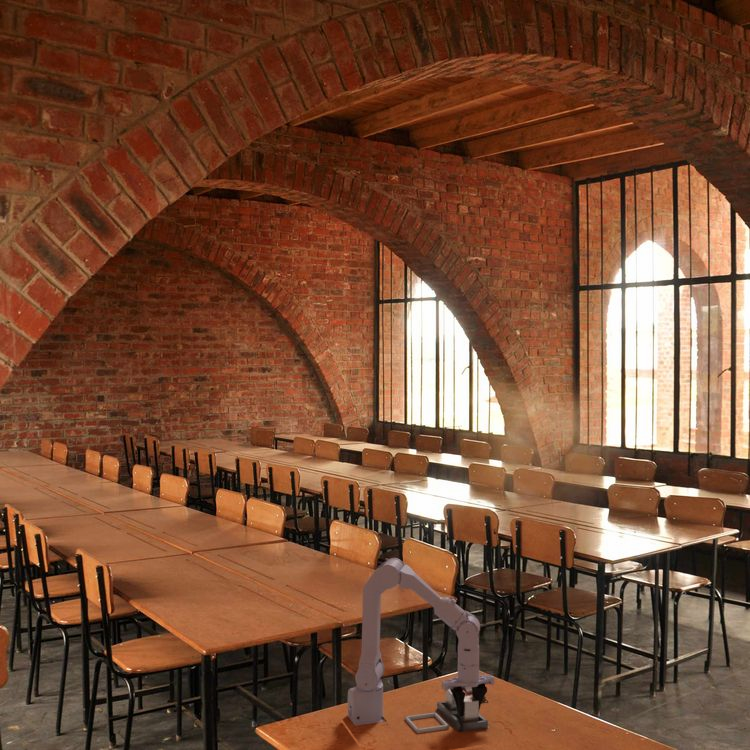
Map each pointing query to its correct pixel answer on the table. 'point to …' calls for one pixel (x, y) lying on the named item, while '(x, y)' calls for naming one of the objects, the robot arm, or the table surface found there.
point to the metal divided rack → (456, 723)
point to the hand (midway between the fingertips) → (468, 713)
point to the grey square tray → (444, 726)
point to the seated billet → (451, 701)
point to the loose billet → (470, 710)
